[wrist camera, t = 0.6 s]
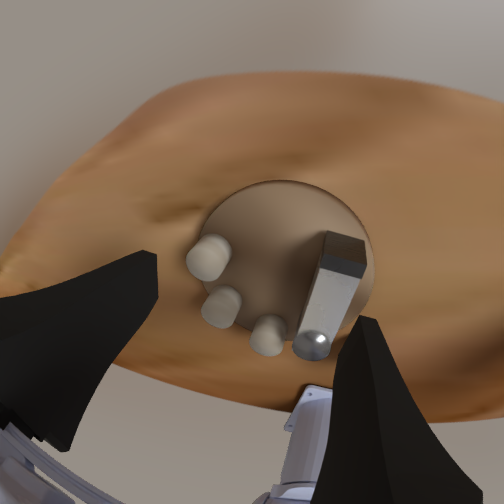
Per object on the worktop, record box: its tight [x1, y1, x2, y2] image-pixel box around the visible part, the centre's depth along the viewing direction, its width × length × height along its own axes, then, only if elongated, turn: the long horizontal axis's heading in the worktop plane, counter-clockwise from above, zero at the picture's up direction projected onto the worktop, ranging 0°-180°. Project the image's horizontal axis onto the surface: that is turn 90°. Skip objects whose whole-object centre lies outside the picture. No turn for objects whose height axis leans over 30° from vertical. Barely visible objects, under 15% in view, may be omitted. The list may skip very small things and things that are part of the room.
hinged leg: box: [292, 230, 367, 361], centre depth 16 cm, size 7×2×3 cm, turn 171°
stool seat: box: [186, 180, 375, 356], centre depth 18 cm, size 11×11×3 cm
